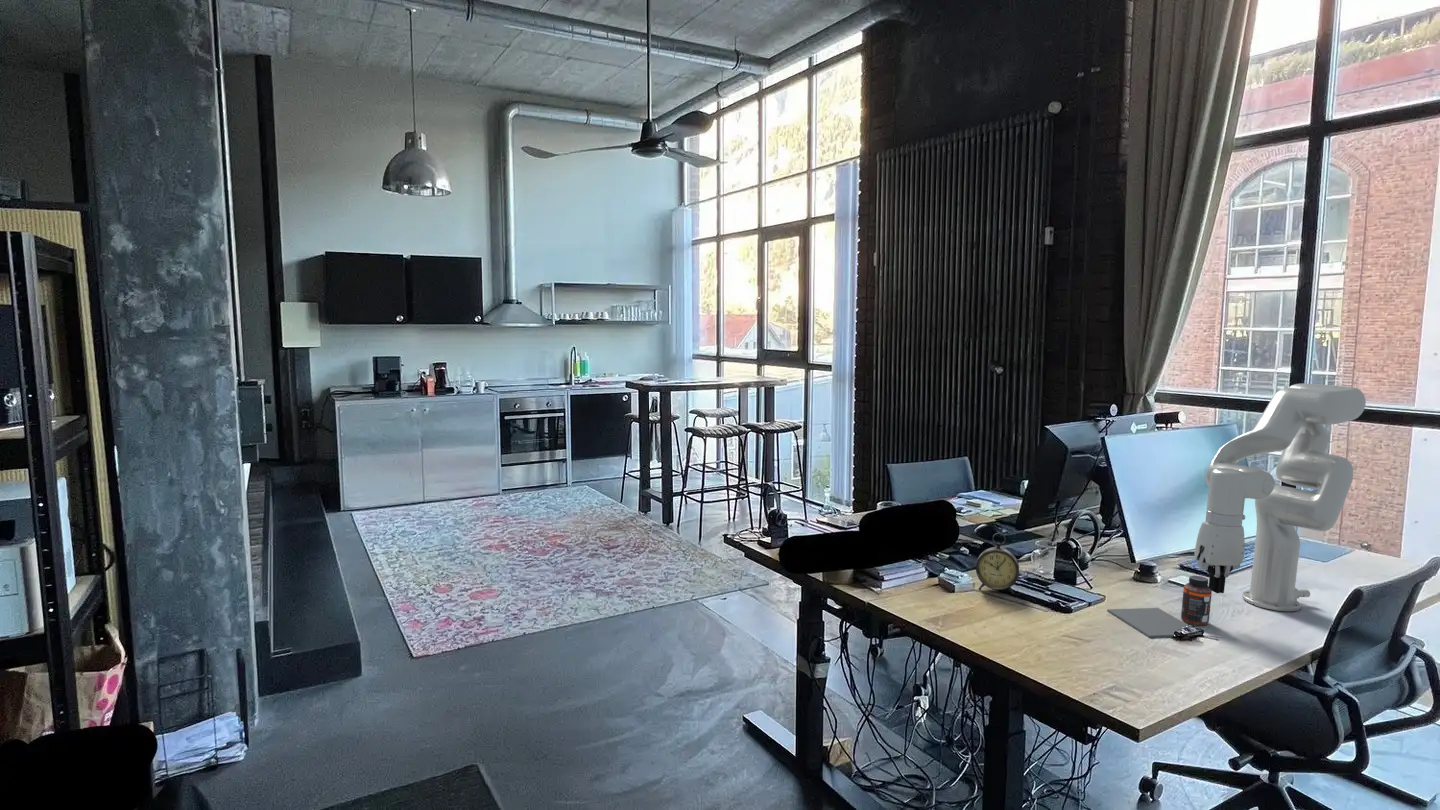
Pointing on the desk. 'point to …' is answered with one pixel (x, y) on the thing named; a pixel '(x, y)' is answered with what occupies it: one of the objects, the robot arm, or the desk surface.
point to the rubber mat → (1149, 621)
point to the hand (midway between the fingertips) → (1216, 591)
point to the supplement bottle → (1196, 601)
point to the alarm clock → (997, 568)
